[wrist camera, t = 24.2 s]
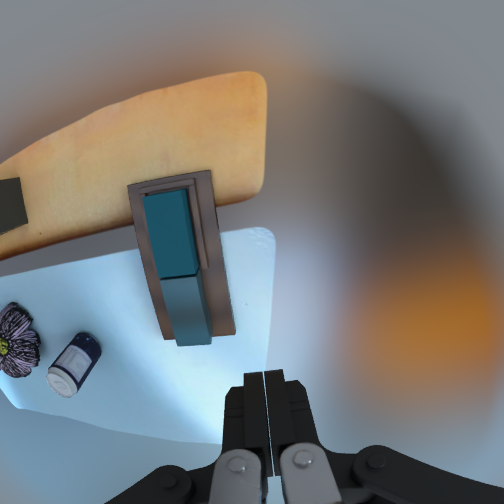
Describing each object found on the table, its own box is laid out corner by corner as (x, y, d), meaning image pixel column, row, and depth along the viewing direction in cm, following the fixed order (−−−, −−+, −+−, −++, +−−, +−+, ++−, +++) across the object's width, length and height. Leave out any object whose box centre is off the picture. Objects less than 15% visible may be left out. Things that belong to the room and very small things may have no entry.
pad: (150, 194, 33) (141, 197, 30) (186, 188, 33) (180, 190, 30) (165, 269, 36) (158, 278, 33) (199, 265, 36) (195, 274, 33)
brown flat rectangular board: (130, 184, 34) (116, 187, 29) (210, 169, 33) (205, 169, 29) (165, 335, 40) (158, 352, 36) (235, 330, 40) (235, 347, 36)
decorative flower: (35, 375, 32) (-6, 392, 29) (62, 359, 43) (21, 376, 40) (2, 296, 32) (-35, 323, 29) (34, 293, 43) (-4, 317, 40)
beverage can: (72, 330, 40) (38, 369, 28) (96, 329, 40) (63, 372, 28) (84, 355, 42) (55, 397, 30) (107, 356, 42) (80, 401, 30)
